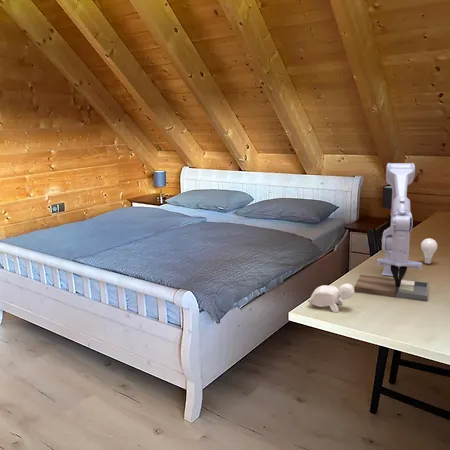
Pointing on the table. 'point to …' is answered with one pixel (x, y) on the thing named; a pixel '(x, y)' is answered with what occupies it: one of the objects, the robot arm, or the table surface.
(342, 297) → the white turtle figurine
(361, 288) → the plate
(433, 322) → the table surface
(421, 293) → the box
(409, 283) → the tile cream
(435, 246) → the lightbulb
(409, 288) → the tile green
